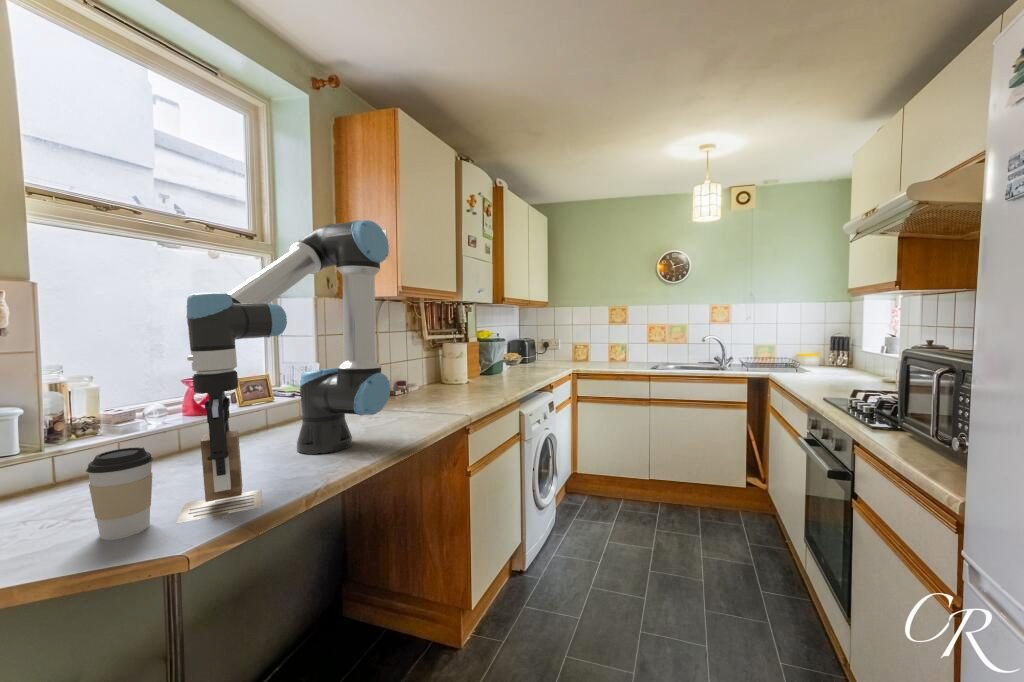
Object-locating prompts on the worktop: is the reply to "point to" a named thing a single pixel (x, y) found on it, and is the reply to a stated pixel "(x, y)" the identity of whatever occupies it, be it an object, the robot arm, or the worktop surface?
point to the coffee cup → (121, 491)
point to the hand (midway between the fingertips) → (224, 484)
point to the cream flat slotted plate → (220, 506)
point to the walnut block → (234, 466)
